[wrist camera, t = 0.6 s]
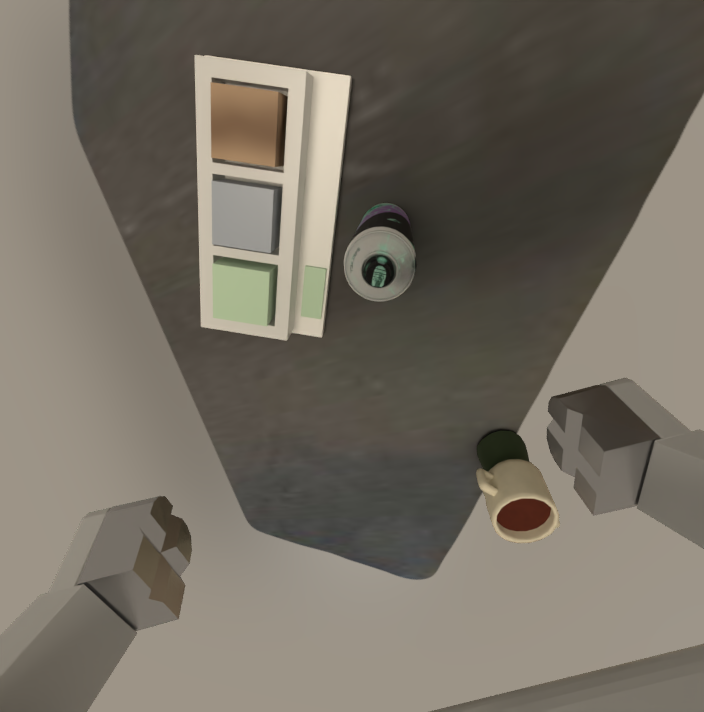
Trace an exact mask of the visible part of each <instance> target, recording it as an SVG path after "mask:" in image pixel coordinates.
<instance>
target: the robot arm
mask: <svg viewBox="0 0 704 712" xmlns="http://www.w3.org/2000/svg"><path fill="white" fill-rule="evenodd" d="M548 412H549V413H550V415H551V416H552V417H553V420H552V422H551V423H550V424H549V426H548V427H547V441H548V445H549V449H550V452H551V454H552V456H553V458H554V460H555V462H556V463H557V465H558V466H559V468H560V469H561V470H562V471H563V472H566V473H567V474H569V475H571V476H573V477H575V481H574V489H575V491H576V492H577V493H578V495H579V496H580V498H581V499H582V500H583V502H584V503H585V505H586V506H587V507H588V509H589V510H590V512H591V513H592V514H593V515H598V514H603V513H607V512H612V511H615V510H621V509H625V508H630V507H634V506H637V509H639V510H641V511H642V512H644V513H646V514H647V515H649V516H651V517H652V518H654V519H656V520H657V521H659V522H661V523H662V524H664V525H665V526H667V527H669V528H670V529H672V530H674V531H675V532H677V533H679V534H680V535H682V536H684V537H685V538H687V539H688V540H690V541H692V542H693V543H695V544H697V545H698V546H700V547H702V548H703V549H704V431H702V430H695V431H690V430H689V429H688V428H687V427H686V426H685V425H683V424H682V423H681V422H680V421H679V420H678V419H676V418H675V417H674V416H673V415H672V414H671V413H669V412H668V411H667V410H666V409H665V408H664V407H663V406H661V405H660V404H659V403H658V402H656V401H655V400H654V399H653V398H652V397H651V396H650V395H649V394H648V393H646V392H645V391H644V390H643V389H642V388H641V387H639V386H638V385H637V384H636V383H635V382H634V381H632V380H630V379H627V378H623V379H618V380H615V381H611V382H607V383H603V384H600V385H595V386H591V387H588V388H584V389H580V390H576V391H572V392H568V393H565V394H561V395H557V396H553V397H551V399H550V401H549V406H548ZM172 507H173V505H171V503H170V502H169V501H168V499H167V498H166V497H165V496H163V497H162V496H159V497H154V498H150V499H146V500H141V501H136V502H132V503H127V504H123V505H119V506H114V507H112V508H107V509H103V510H98V511H94V512H90V513H88V514H87V515H86V516H85V517H84V518H83V519H82V520H81V522H80V524H79V527H78V529H77V531H76V533H75V535H74V537H73V540H72V542H71V544H70V546H69V548H68V551H67V553H66V555H65V557H64V559H63V561H62V564H61V566H60V568H59V570H58V572H57V574H56V576H55V579H54V581H53V583H52V585H51V587H50V590H49V592H48V593H45V594H42V595H40V596H38V597H37V599H36V600H35V601H34V602H33V603H32V604H31V605H30V606H29V607H28V608H27V609H26V610H25V611H24V612H23V613H22V614H21V615H20V616H19V617H18V618H17V619H16V620H15V621H14V622H13V623H12V624H11V625H10V626H9V627H8V628H7V629H6V630H5V631H4V632H3V633H2V634H1V635H0V712H87V711H88V709H89V708H90V706H91V705H92V703H93V701H94V700H95V698H96V697H97V695H98V694H99V692H100V691H101V689H102V687H103V686H104V684H105V683H106V681H107V680H108V678H109V677H110V675H111V673H112V672H113V670H114V669H115V667H116V666H117V664H118V663H119V661H120V659H121V658H122V656H123V655H124V653H125V652H126V650H127V648H128V647H129V645H130V644H131V642H132V641H133V639H134V638H135V636H136V634H137V632H136V631H138V630H141V629H145V628H148V627H152V626H156V625H159V624H163V623H167V622H170V621H173V620H177V619H179V615H180V610H181V604H182V599H183V594H184V589H185V584H184V582H183V581H182V579H181V577H180V576H181V574H182V573H183V572H184V570H185V569H186V568H187V566H188V565H189V564H190V557H191V552H192V548H191V535H190V532H189V530H188V527H187V525H186V524H185V522H184V521H183V520H182V519H181V518H179V517H176V516H174V515H171V511H172ZM430 712H704V644H701V645H697V646H693V647H689V648H685V649H681V650H677V651H673V652H669V653H665V654H661V655H657V656H652V657H649V658H644V659H640V660H636V661H632V662H628V663H624V664H620V665H616V666H612V667H608V668H604V669H600V670H596V671H592V672H588V673H584V674H580V675H576V676H571V677H568V678H563V679H559V680H555V681H551V682H547V683H543V684H539V685H535V686H531V687H527V688H523V689H519V690H515V691H511V692H507V693H503V694H499V695H495V696H490V697H486V698H482V699H479V700H474V701H470V702H466V703H462V704H458V705H454V706H450V707H446V708H442V709H438V710H434V711H430Z"/></svg>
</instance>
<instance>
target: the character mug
mask: <svg viewBox="0 0 704 712" xmlns="http://www.w3.org/2000/svg"><path fill="white" fill-rule="evenodd" d="M477 455H478V458H479V460H480V463H481V465H482V467H483V469H481V468H480V469H477V472H476V476H477V480H478V484H479V487H480V489H481V490H483V494H484V496H485V499H486V506H487V509H488V512H489V515H490V519H491V522H492V524H493V527H494V529H495V531H496V533H497V534H498V535H499V536H500V537H502V538H503V539H505V540H507V541H510V542H514V543H531V542H535V541H539V540H542V539H543V538H545V537H547V536H549V535H550V534H552V532H553V531H554V530H555V528H558V527H559V526H560V522H559V513H558V510H557V508H556V506H555V503H554V501H553V499H552V496H551V494H550V492H549V490H548V487H547V485H546V483H545V481H544V479H543V476H542V474H541V472H540V471H539V469H538V468H537V467H536V466H534V465H533V464H532V463H531V462H529V458H528V453H527V450H526V446H525V443H524V442H523V440H522V438H521V437H520V436H519V435H517V434H515V433H514V432H512V431H498V432H495V433H491V434H489V435H488V436H486V437H485V438H484V439H482V440H481V442H480V443H479V445H478V446H477Z"/></svg>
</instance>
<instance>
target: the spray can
mask: <svg viewBox="0 0 704 712" xmlns="http://www.w3.org/2000/svg"><path fill="white" fill-rule="evenodd" d="M415 271H416V254H415V249H414V243H413V238H412V232H411V227H410V222H409V219H408V216H407V215H406V213H405V212H404V211H403V210H402V209H401V208H400V207H398V206H397V205H394V204H391V203H381V204H377V205H375V206H373V207H372V208H371V209H369V210H368V211H367V212H366V214H365V215H364V217H363V219H362V221H361V223H360V224H359V226H358V228H357V230H356V232H355V234H354V236H353V238H352V240H351V242H350V244H349V246H348V248H347V250H346V253H345V257H344V272H345V276H346V279H347V281H348V283H349V285H350V286H351V288H352V289H353V290H354V291H355V292H356V293H357V294H358V295H360V296H362V297H363V298H365V299H368V300H371V301H387V300H391V299H394V298H396V297H398V296H399V295H401V294H402V293H403V292H404V291H405V290H406V289H407V288H408V287H409V285H410V284H411V282H412V280H413V277H414V275H415Z"/></svg>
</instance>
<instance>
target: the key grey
mask: <svg viewBox="0 0 704 712" xmlns="http://www.w3.org/2000/svg"><path fill="white" fill-rule="evenodd" d="M282 188H283V187H278V186H271V185H264V184H258V183H251V182H244V181H238V180H231V179H219V180H212V244H215V245H221V246H228V247H234V248H240V249H247V250H253V251H260V252H266V253H271V252H273V251H274V250H275V249H276V248H278V247H279V240H280V223H281V205H282Z"/></svg>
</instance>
